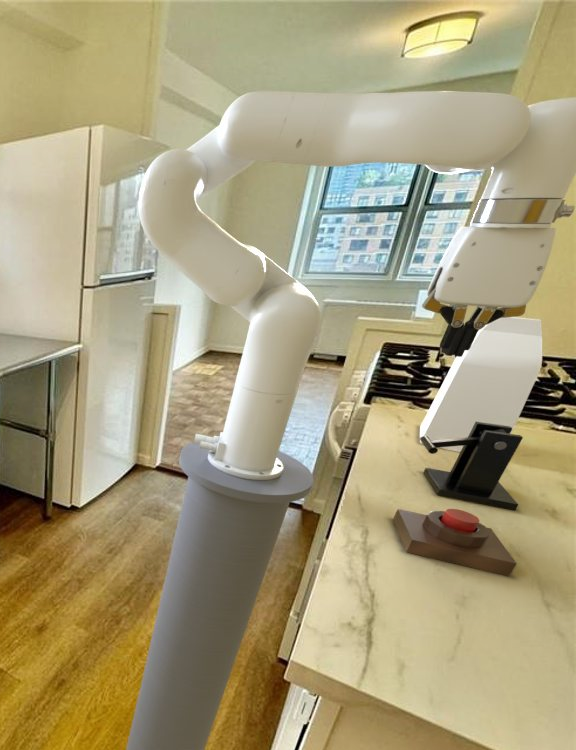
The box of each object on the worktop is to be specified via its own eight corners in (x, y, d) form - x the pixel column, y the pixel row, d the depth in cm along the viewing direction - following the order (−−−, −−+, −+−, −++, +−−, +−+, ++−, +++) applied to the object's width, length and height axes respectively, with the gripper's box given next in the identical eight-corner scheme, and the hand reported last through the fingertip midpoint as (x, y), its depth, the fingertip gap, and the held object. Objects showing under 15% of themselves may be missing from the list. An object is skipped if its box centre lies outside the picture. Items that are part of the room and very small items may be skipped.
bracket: (436, 495, 83) (468, 433, 78) (422, 473, 90) (450, 414, 85) (515, 510, 79) (553, 445, 74) (494, 485, 86) (527, 425, 81)
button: (444, 528, 68) (449, 518, 67) (436, 516, 71) (442, 506, 70) (478, 536, 67) (483, 525, 66) (468, 522, 69) (474, 512, 69)
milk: (419, 443, 102) (477, 318, 90) (420, 426, 110) (472, 309, 98) (498, 460, 95) (572, 327, 83) (492, 441, 103) (559, 317, 91)
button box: (406, 552, 69) (417, 529, 67) (392, 520, 76) (402, 498, 74) (509, 576, 64) (524, 552, 63) (484, 540, 72) (497, 518, 70)
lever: (428, 457, 83) (428, 444, 82) (420, 445, 87) (419, 432, 87) (512, 451, 77) (512, 437, 77) (498, 438, 82) (498, 425, 81)
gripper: (578, 215, 63) (508, 354, 71) (431, 215, 69) (382, 342, 77) (612, 216, 57) (531, 367, 65) (447, 215, 63) (393, 353, 71)
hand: (451, 353), depth 71 cm, fingers closed
